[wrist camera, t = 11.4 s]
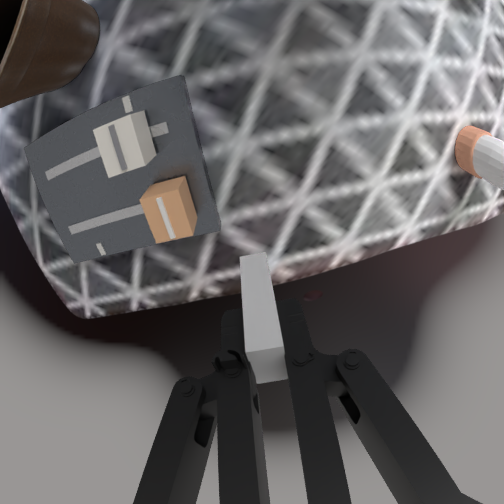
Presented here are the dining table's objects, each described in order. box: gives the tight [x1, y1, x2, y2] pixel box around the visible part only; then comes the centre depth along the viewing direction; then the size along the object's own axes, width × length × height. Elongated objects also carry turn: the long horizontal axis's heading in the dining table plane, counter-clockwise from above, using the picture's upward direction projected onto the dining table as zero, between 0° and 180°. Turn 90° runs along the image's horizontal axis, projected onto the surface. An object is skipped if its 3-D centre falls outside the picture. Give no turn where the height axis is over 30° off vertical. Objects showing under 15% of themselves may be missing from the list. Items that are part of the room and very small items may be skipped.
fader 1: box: [93, 111, 157, 178], centre depth 22 cm, size 5×4×4 cm
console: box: [24, 75, 221, 263], centre depth 28 cm, size 18×22×2 cm
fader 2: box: [140, 176, 198, 243], centre depth 26 cm, size 5×4×4 cm
